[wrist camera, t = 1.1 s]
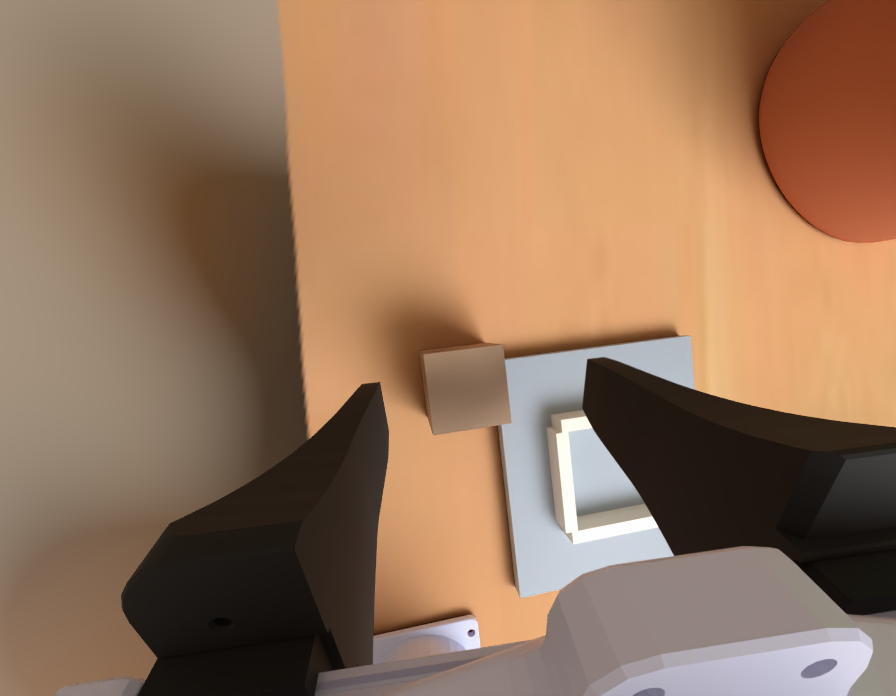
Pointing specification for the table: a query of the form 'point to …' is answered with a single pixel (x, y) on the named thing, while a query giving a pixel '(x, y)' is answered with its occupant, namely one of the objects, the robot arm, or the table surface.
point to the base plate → (574, 468)
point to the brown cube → (465, 387)
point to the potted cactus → (836, 119)
